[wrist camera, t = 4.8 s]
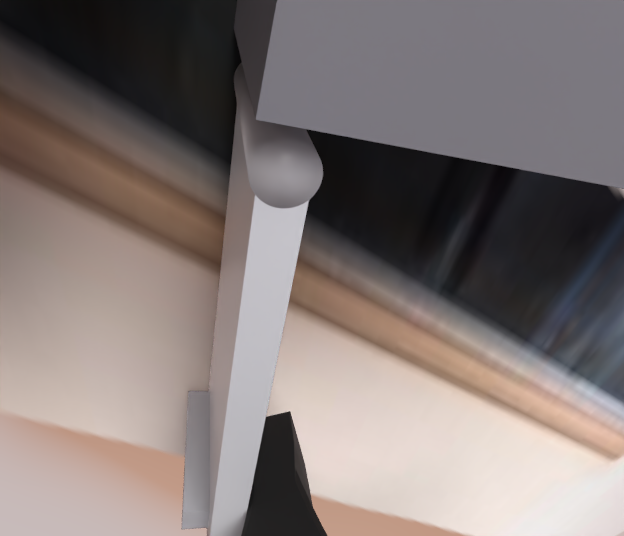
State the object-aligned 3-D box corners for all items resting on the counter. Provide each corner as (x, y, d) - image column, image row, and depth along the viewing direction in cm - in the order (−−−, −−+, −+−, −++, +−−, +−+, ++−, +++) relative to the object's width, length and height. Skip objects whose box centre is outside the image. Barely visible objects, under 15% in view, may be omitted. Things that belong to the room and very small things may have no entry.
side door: (235, 397, 13) (243, 555, 10) (187, 398, 13) (179, 561, 9) (283, 60, 8) (329, 143, 5) (211, 49, 8) (212, 128, 5)
